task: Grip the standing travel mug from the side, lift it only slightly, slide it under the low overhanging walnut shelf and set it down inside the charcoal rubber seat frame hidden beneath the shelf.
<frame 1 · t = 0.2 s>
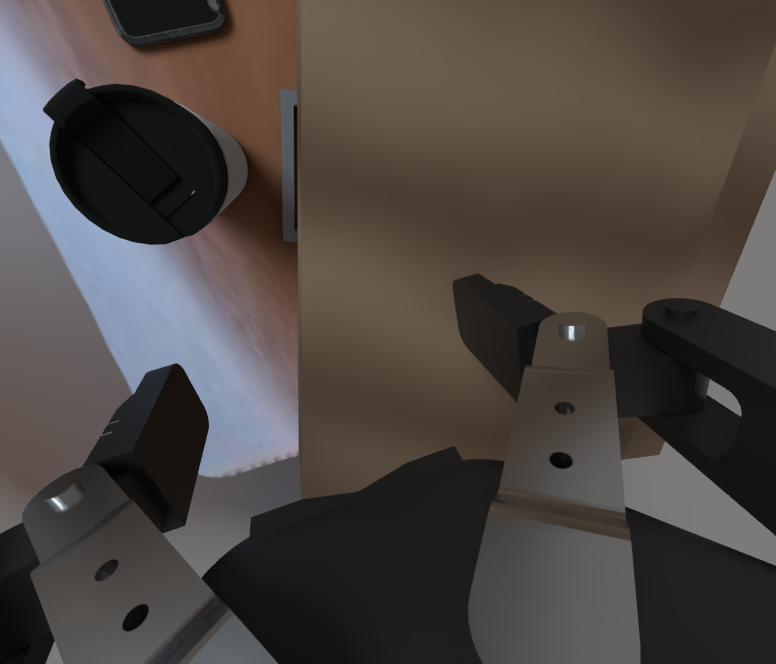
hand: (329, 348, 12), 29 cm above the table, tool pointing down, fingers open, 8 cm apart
travel mug: (207, 164, 34), on the table
overhang shelf: (349, 175, 37), on the table
seat frame: (349, 175, 37), on the table
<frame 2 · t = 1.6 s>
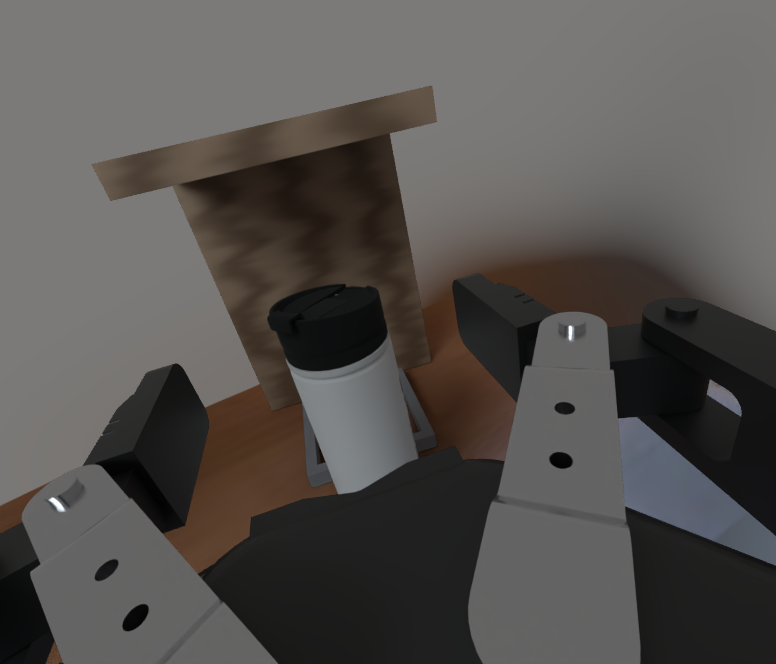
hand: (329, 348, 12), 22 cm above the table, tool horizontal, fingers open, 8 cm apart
travel mug: (391, 523, 32), on the table
overhang shelf: (364, 425, 42), on the table
seat frame: (364, 425, 42), on the table
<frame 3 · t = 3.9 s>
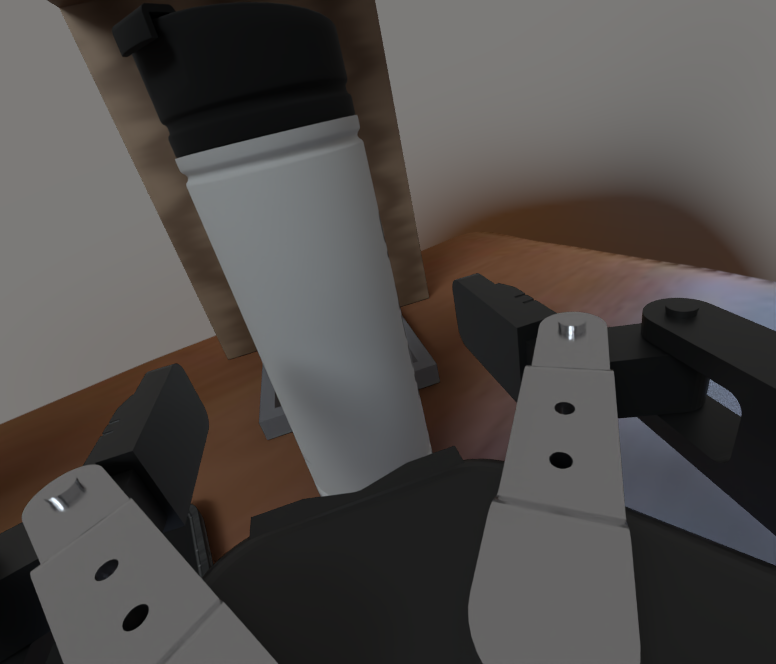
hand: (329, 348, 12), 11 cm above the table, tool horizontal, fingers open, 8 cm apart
travel mug: (376, 479, 22), on the table
overhang shelf: (343, 366, 32), on the table
seat frame: (343, 366, 32), on the table
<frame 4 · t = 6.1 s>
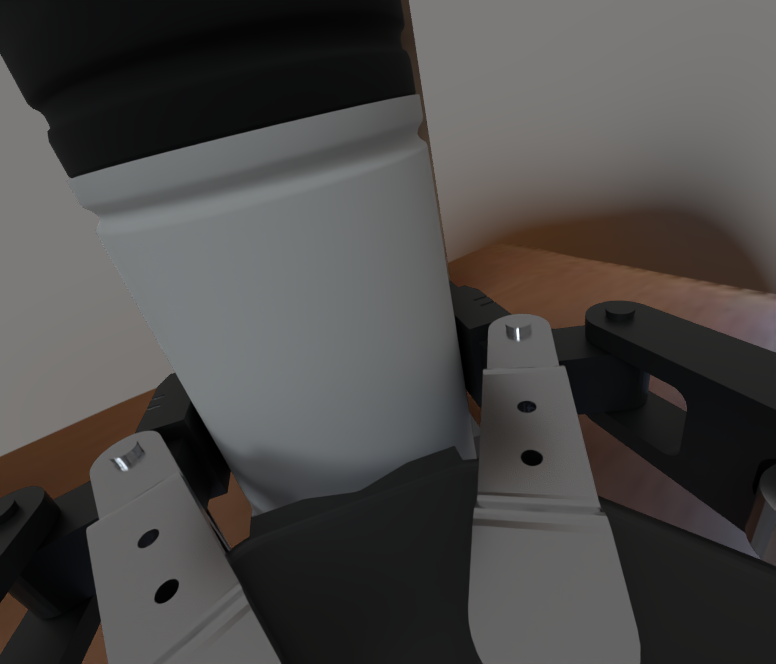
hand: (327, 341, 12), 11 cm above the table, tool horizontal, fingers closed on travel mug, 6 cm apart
travel mug: (415, 618, 15), on the table, touching gripper
overhang shelf: (358, 421, 26), on the table
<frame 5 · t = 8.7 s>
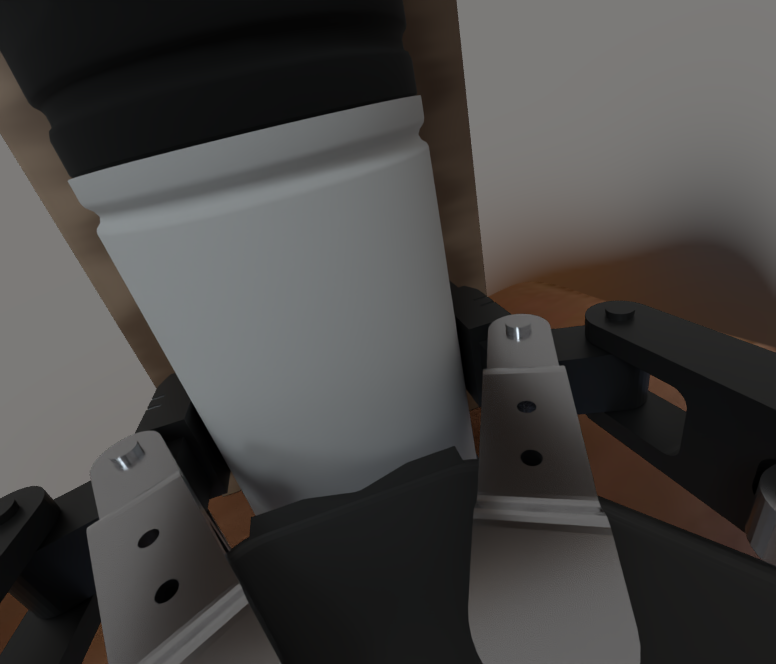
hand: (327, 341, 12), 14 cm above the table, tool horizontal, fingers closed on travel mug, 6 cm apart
travel mug: (414, 619, 15), point 3 cm above the table, touching gripper
overhang shelf: (394, 541, 21), on the table
when the fingers open (12 cm above the table, at t = 11.5 s): travel mug stays where it is, resting in seat frame.
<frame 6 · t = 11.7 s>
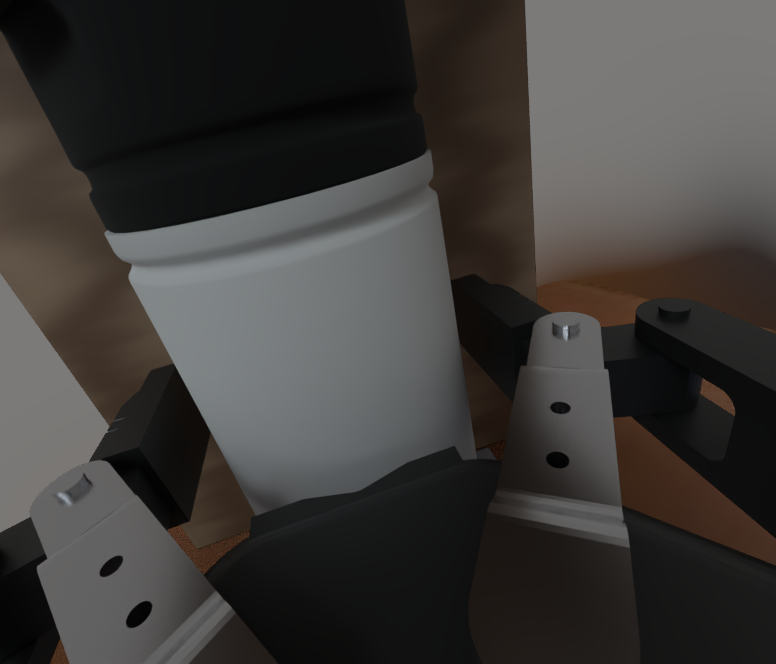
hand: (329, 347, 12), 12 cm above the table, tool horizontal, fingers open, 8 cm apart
travel mug: (418, 637, 16), resting in seat frame
overhang shelf: (420, 629, 16), on the table
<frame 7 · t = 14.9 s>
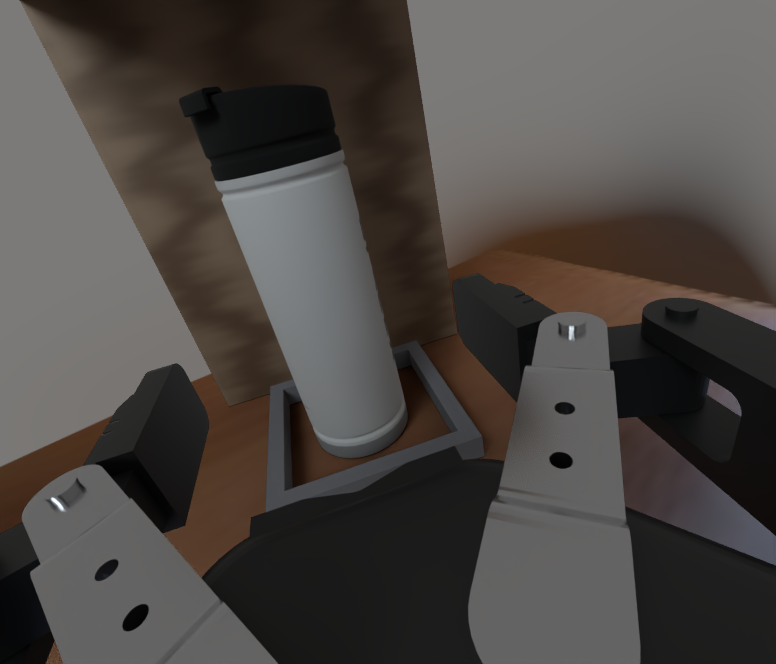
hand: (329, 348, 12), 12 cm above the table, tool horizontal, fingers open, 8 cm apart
travel mug: (362, 428, 27), resting in seat frame
overhang shelf: (363, 424, 27), on the table
seat frame: (363, 424, 27), on the table
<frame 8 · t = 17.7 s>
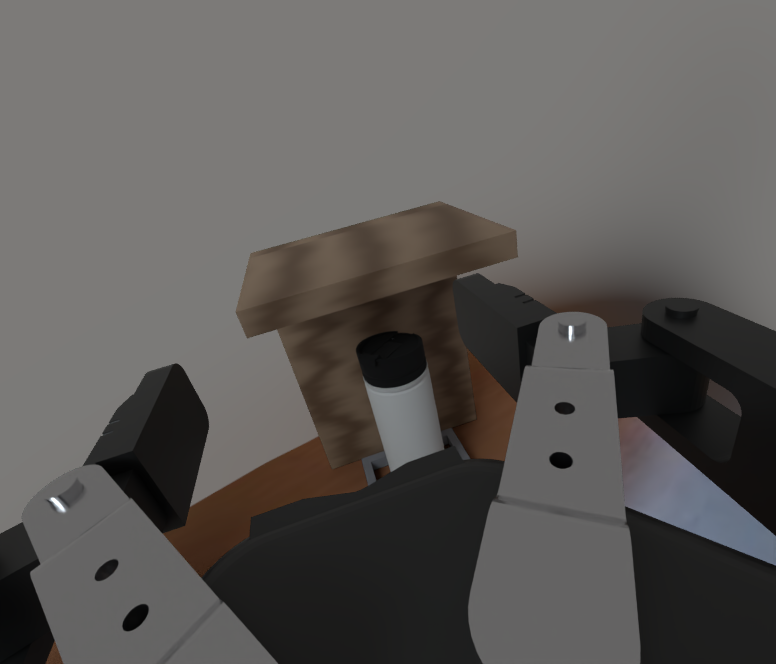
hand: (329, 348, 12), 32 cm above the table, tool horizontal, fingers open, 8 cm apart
travel mug: (423, 490, 46), resting in seat frame
overhang shelf: (424, 487, 46), on the table
seat frame: (424, 487, 46), on the table
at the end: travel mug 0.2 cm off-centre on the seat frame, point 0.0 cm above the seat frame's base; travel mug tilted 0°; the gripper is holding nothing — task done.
